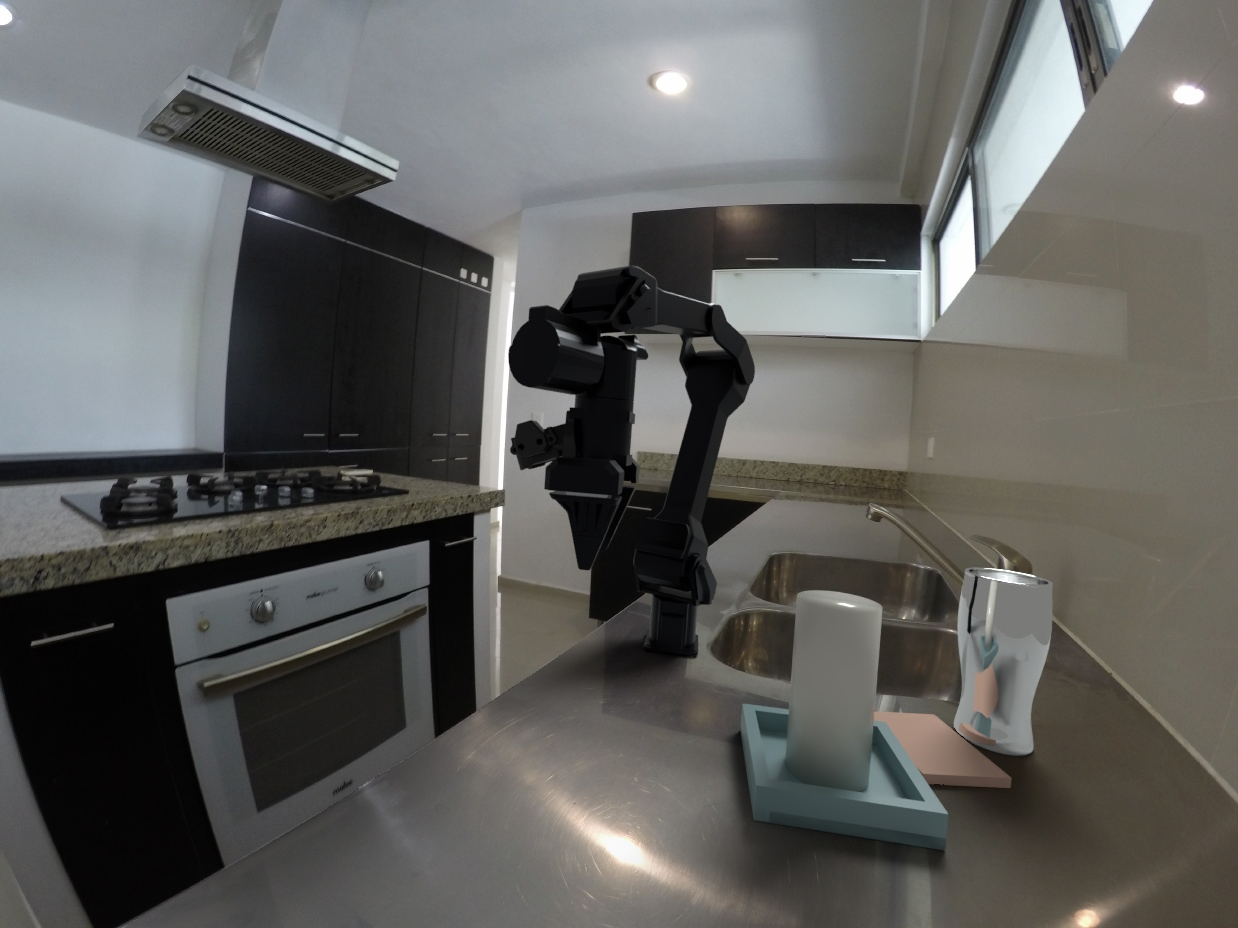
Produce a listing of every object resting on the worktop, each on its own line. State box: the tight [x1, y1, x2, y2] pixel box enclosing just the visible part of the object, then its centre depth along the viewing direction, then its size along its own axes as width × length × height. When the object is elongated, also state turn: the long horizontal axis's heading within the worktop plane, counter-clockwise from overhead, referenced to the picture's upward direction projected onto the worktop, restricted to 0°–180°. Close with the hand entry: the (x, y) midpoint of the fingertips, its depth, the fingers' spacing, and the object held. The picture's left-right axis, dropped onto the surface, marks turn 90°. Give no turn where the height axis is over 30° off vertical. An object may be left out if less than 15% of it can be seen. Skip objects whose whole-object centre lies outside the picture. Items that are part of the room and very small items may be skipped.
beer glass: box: [953, 566, 1054, 757], centre depth 50 cm, size 7×7×15 cm
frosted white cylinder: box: [785, 589, 884, 792], centre depth 42 cm, size 6×6×13 cm
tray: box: [739, 703, 949, 852], centre depth 42 cm, size 12×12×2 cm
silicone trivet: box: [874, 710, 1012, 789], centre depth 48 cm, size 10×7×1 cm
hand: (593, 559), depth 54 cm, fingers open, 9 cm apart
